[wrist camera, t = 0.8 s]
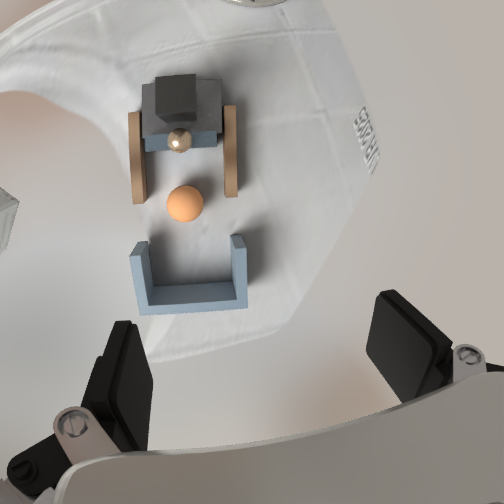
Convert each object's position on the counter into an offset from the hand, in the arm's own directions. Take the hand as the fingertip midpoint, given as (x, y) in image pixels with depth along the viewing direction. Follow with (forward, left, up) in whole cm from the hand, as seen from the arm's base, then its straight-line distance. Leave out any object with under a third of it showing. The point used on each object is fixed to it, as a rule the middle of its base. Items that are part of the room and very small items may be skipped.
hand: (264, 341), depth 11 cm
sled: (-11, -4, -25) cm, 28 cm away
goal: (+7, -4, -26) cm, 27 cm away
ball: (-1, -4, -24) cm, 24 cm away
